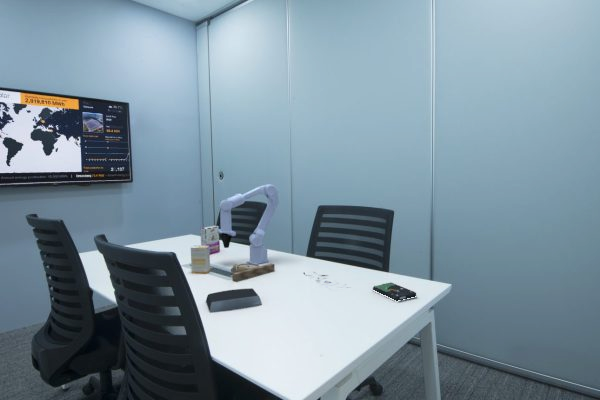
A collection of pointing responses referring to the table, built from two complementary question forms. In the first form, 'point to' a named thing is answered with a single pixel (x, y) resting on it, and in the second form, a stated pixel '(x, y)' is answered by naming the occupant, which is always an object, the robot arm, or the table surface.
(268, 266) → the walnut board
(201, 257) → the supplement box
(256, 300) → the external hard drive
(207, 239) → the candy bar box
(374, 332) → the table surface
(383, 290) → the disk drive
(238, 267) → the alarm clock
